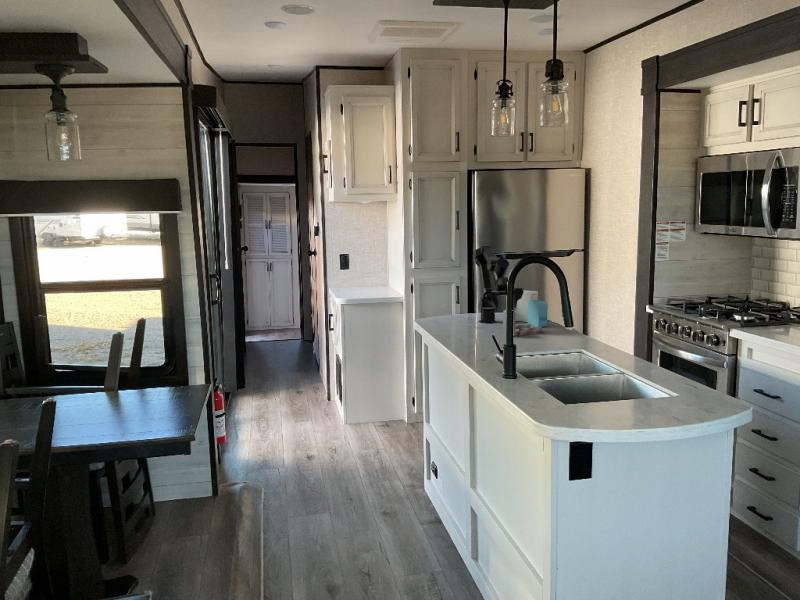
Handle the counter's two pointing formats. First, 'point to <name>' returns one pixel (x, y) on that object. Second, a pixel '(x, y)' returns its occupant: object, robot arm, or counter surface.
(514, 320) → the module
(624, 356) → the counter surface
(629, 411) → the counter surface
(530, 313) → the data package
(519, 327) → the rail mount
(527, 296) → the supplement box
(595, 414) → the counter surface
